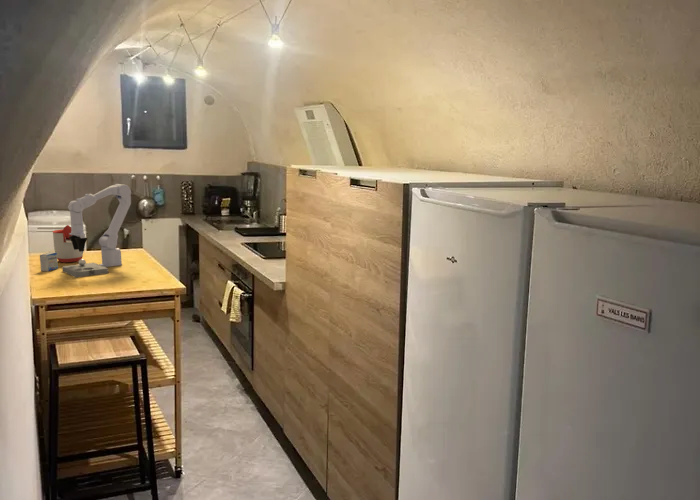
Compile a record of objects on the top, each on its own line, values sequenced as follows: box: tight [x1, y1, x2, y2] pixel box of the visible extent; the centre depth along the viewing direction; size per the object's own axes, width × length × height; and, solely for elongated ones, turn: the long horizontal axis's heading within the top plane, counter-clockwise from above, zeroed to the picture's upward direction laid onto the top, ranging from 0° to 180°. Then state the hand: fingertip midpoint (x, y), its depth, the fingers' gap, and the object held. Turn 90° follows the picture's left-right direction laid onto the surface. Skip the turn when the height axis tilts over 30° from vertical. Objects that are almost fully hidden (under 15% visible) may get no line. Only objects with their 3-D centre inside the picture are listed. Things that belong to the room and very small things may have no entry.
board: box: [61, 262, 109, 278], centre depth 331 cm, size 16×20×2 cm
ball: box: [77, 258, 86, 266], centre depth 335 cm, size 4×4×4 cm
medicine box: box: [39, 251, 59, 272], centre depth 337 cm, size 8×4×9 cm, turn 168°
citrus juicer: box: [52, 224, 84, 264], centre depth 360 cm, size 16×17×20 cm
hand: (79, 250), depth 338 cm, fingers open, 7 cm apart
